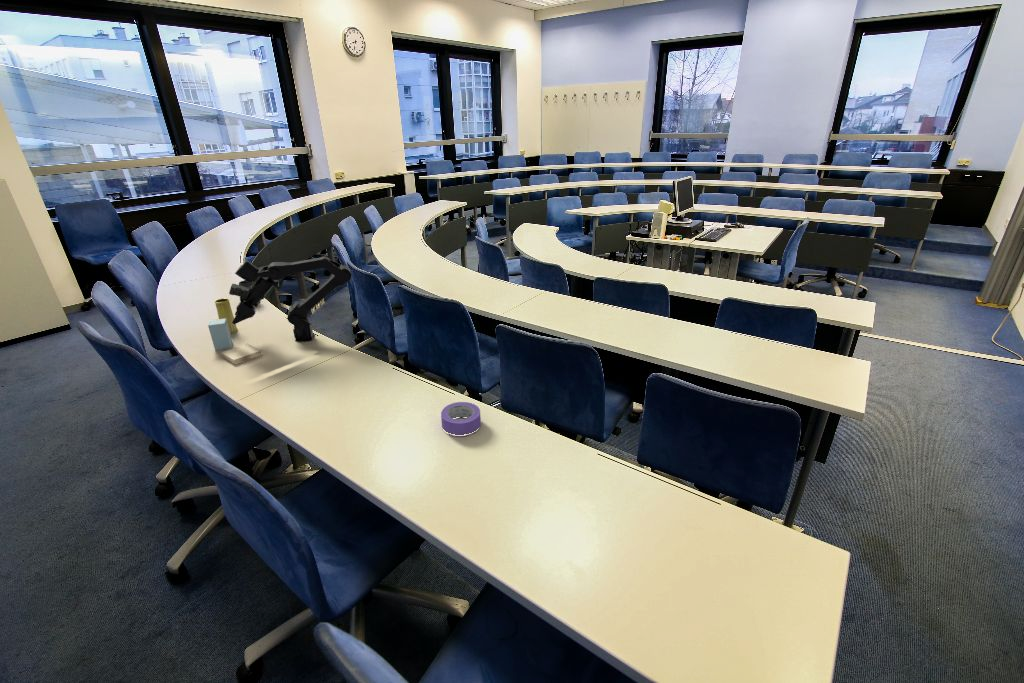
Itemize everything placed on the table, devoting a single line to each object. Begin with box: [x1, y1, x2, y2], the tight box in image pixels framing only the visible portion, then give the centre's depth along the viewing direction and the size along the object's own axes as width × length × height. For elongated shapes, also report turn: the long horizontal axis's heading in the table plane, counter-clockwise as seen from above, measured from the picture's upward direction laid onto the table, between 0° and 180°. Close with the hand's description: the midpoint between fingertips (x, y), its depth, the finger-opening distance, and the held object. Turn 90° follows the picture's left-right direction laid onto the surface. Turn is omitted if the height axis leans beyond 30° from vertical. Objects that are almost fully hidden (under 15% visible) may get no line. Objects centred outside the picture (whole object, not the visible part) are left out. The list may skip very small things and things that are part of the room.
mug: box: [238, 279, 261, 305], centre depth 234 cm, size 12×9×11 cm
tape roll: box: [440, 401, 482, 435], centre depth 141 cm, size 12×12×5 cm
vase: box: [214, 297, 238, 334], centre depth 200 cm, size 6×6×14 cm
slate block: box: [207, 318, 233, 351], centre depth 185 cm, size 6×6×12 cm
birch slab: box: [220, 343, 263, 366], centre depth 179 cm, size 10×10×2 cm
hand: (234, 319), depth 184 cm, fingers open, 9 cm apart
